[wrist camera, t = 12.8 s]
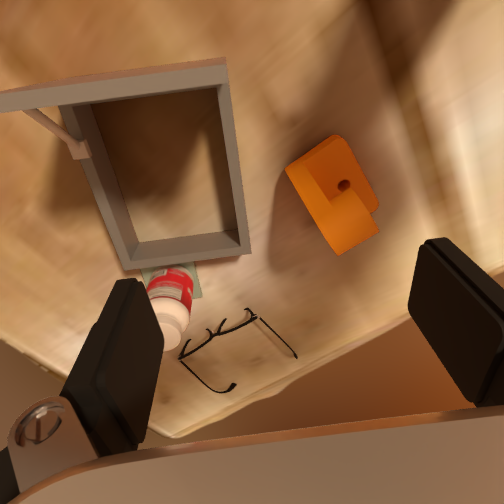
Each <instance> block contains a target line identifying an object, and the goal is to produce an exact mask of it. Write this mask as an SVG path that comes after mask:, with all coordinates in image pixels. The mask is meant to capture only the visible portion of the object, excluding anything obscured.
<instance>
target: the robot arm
mask: <svg viewBox="0 0 504 504" xmlns="http://www.w3.org/2000/svg"><path fill="white" fill-rule="evenodd" d="M408 311H409V313H410V315H411V317H412V318H413V320H414V321H415V323H416V324H417V326H418V327H419V329H420V330H421V332H422V333H423V335H424V336H425V338H426V339H427V341H428V342H429V344H430V345H431V347H432V349H433V350H434V351H435V353H436V354H437V356H438V358H439V359H440V361H441V362H442V364H443V365H444V367H445V368H446V370H447V371H448V373H449V374H450V376H451V377H452V379H453V380H454V382H455V383H456V385H457V386H458V388H459V389H460V391H461V392H462V394H463V395H464V397H465V398H466V399H467V400H468V401H469V402H473V403H474V404H475V406H476V407H477V408H469V409H460V410H451V411H443V412H434V413H426V414H417V415H409V416H401V417H392V418H383V419H375V420H367V421H359V422H350V423H342V424H334V425H326V426H318V427H310V428H303V429H293V430H285V431H277V432H270V433H262V434H254V435H246V436H238V437H230V438H223V439H215V440H207V441H199V442H191V443H184V444H178V445H170V446H164V447H157V448H150V449H143V450H137V448H138V444H139V443H142V442H143V441H144V439H145V435H146V430H147V425H148V421H149V416H150V411H151V406H152V402H153V397H154V392H155V387H156V383H157V378H158V373H159V369H160V364H161V359H162V354H163V350H164V335H163V333H162V330H161V327H160V325H159V322H158V320H157V317H156V315H155V312H154V309H153V307H152V304H151V302H150V299H149V297H148V294H147V291H146V289H145V286H144V284H143V282H142V281H139V282H138V281H137V279H136V278H128V279H121V280H117V281H116V282H115V285H114V287H113V289H112V291H111V293H110V295H109V297H108V299H107V302H106V304H105V306H104V308H103V310H102V312H101V314H100V317H99V319H98V321H97V322H96V323H95V324H94V325H93V326H92V328H91V330H90V332H89V334H88V336H87V338H86V341H85V343H84V345H83V347H82V349H81V351H80V353H79V355H78V357H77V359H76V361H75V364H74V366H73V368H72V370H71V372H70V374H69V376H68V378H67V380H66V382H65V385H64V387H63V389H62V391H61V393H60V395H59V396H52V397H48V398H45V399H42V400H40V401H38V402H36V403H34V404H33V405H32V406H30V407H29V408H28V409H26V410H25V411H24V412H23V413H22V414H21V415H20V416H19V417H18V418H17V419H16V421H15V422H14V424H13V425H12V427H11V429H10V431H9V434H8V437H7V447H6V448H4V449H3V450H2V451H0V504H504V289H503V288H502V287H501V286H500V285H499V284H498V283H496V282H495V281H494V280H493V279H492V278H491V277H490V276H489V275H488V274H487V273H486V272H484V271H483V270H482V269H481V268H480V267H479V266H478V265H477V264H476V263H474V262H473V261H472V260H471V259H470V258H469V257H468V256H467V255H466V254H465V253H463V252H462V251H461V250H460V249H459V248H458V247H457V246H456V245H455V244H453V243H452V242H451V241H450V240H449V239H448V238H445V237H443V238H435V239H428V240H426V241H425V242H424V244H423V245H421V246H420V247H419V251H418V256H417V261H416V266H415V271H414V276H413V281H412V286H411V291H410V296H409V301H408Z"/></svg>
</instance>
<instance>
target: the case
mask: <svg viewBox="0 0 504 504" xmlns="http://www.w3.org/2000/svg"><path fill="white" fill-rule="evenodd" d="M215 87H216V88H217V94H218V101H219V107H220V114H221V120H222V127H223V133H224V140H225V146H226V153H227V159H228V166H229V172H230V179H231V185H232V192H233V199H234V205H235V212H236V218H237V225H238V230H230V231H223V232H215V233H208V234H200V235H193V236H186V237H178V238H171V239H163V240H156V241H148V242H141V243H139V242H138V239H137V236H136V233H135V230H134V227H133V225H132V222H131V219H130V216H129V213H128V210H127V207H126V205H125V202H124V199H123V196H122V193H121V190H120V188H119V185H118V182H117V179H116V176H115V173H114V171H113V168H112V165H111V162H110V159H109V156H108V154H107V151H106V148H105V145H104V142H103V139H102V137H101V134H100V131H99V128H98V125H97V122H96V120H95V117H94V114H93V111H92V108H91V105H90V104H95V103H103V102H110V101H118V100H125V99H133V98H140V97H148V96H155V95H163V94H170V93H178V92H185V91H193V90H200V89H208V88H215ZM50 106H58V108H59V110H60V113H61V115H62V118H63V120H64V123H65V125H66V127H67V130H68V132H69V133H67V132H66V131H65V130H63V129H62V128H61V127H60V126H58V125H57V124H56V123H55V122H53V121H52V120H51V119H49V118H48V117H47V116H46V115H44V114H43V113H42V112H41V111H39V110H38V109H37V108H43V107H50ZM20 110H22V111H23V112H25V113H26V114H28V115H29V116H30V117H32V118H33V119H34V120H36V121H37V122H39V123H40V124H41V125H43V126H44V127H45V128H47V129H48V130H50V131H51V132H52V133H54V134H55V135H56V136H58V137H59V138H61V139H62V140H63V141H65V142H66V143H67V146H68V148H69V150H70V153H71V155H72V158H73V160H77V159H79V160H80V162H81V165H82V167H83V170H84V172H85V175H86V177H87V180H88V182H89V185H90V187H91V189H92V192H93V194H94V197H95V199H96V202H97V204H98V207H99V209H100V212H101V214H102V217H103V219H104V222H105V224H106V227H107V229H108V232H109V234H110V237H111V239H112V242H113V244H114V246H115V249H116V251H117V254H118V256H119V259H120V261H121V264H122V266H123V269H124V271H126V270H133V269H140V268H148V267H155V266H163V265H170V264H178V263H185V262H193V261H200V260H208V259H215V258H222V257H230V256H237V255H245V254H252V252H251V245H250V237H249V230H248V222H247V215H246V207H245V200H244V192H243V185H242V177H241V170H240V162H239V155H238V148H237V140H236V133H235V125H234V118H233V110H232V103H231V95H230V88H229V79H228V72H227V64H226V58H225V57H222V58H214V59H206V60H199V61H191V62H184V63H176V64H169V65H161V66H154V67H146V68H139V69H131V70H124V71H116V72H109V73H101V74H94V75H86V76H79V77H71V78H65V79H60V80H55V81H50V82H45V83H40V84H35V85H30V86H25V87H20V88H15V89H10V90H5V91H0V113H5V112H13V111H20Z"/></svg>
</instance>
